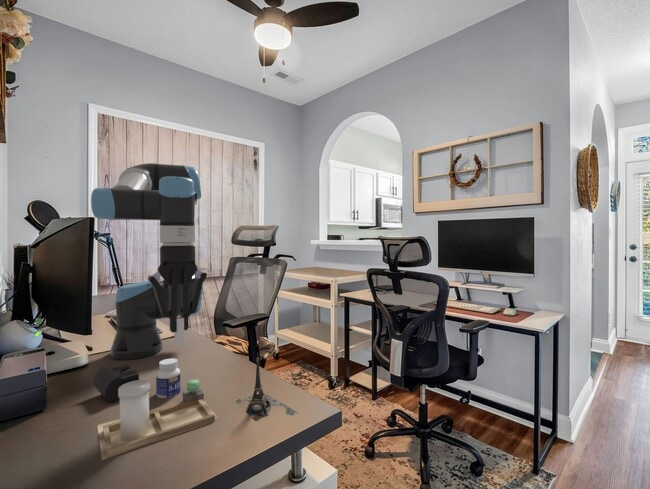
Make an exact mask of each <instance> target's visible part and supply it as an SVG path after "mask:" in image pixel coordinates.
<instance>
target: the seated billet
mask: <svg viewBox="0 0 650 489" xmlns="http://www.w3.org/2000/svg"><path fill="white" fill-rule="evenodd" d="M150 391H151V382H150V381H149V380H147V379H139V380H136V381H131V382H128V383H125V384H123V385H122V386H120V387H119V388H118V396H119V398H120V401H119V419H120V438H121V440H122V441H127V442H128V441H133V440H136V439H139V438H142V437H144V436H146V435H147V434H148V433H149V430H150V429H149V410H150Z"/></svg>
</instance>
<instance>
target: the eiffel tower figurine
mask: <svg viewBox="0 0 650 489" xmlns="http://www.w3.org/2000/svg"><path fill="white" fill-rule="evenodd" d="M255 362H256V368H255V369H256V371H255V383H254V388H253V389H254V390H253V393H252V395H251V396H248V397H247V398H245V399H244V400H242V399H240V398H238V399H236V400H234V402H236V404H240V403H242V402H245V401H247V402H248V404H247V407H246V410H245V411H244V412H245V413H246V414H247V415H248V416H250V417H267V416H268V417H269V415H270V411H271V409H272V407H275V406H276V407H283V408H284V409H285V415H288V416H295V415H296V414H298V413H299V412H298V411H297V410H295V409H292V408H291V407H289V406H287V405H285V404H284V403H283V402H280V401H279V400H277V399H275V398H273V397H272V396H270V395H268V394H266V393H264V390H263V387H262V383H261V373H260V358H259V353H258V352H257V357H256V360H255Z"/></svg>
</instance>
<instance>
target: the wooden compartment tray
mask: <svg viewBox="0 0 650 489" xmlns="http://www.w3.org/2000/svg"><path fill="white" fill-rule="evenodd" d="M204 393H205V392H204V391H202V390H201V388H200V387H199V389H198V390H195V393H194V394H191V391H188V390H183V391H182V400H180V401H177V402H173V403H169V404H165V405H163V406H159V407H155V408H153V409H152V408H151V409H149V429H150V430H149V433H148V434H147V435H146V436H144V437H142V438H139V439H136V440H133V441H128V442H127V441H122V440H121V438H120V418H117V419H114V420H110V421H107V422H103V423H100V424H99V423H98V424H97V425H96V426H97V434H98V442H99V448H100V449H99V450H100V457H101V458H100V459H101V460H102V461H104V460H106V459H109V458H112V457H114V456H118V455H120V454H121V455H122V454H124V453H126V452H129V451H133V450H135V449H138V448H141V447H144V446H148V445H149V444H150V445H151V444H153V443H155V442H158V441H161V440H165V439H167V438H168V439H169V438H171V437H173V436H175V435H179V434H182V433H185V432H188V431H191V430H194V429H196V428H197V429H198V428H200V427H203V426H206V425H209V424H211V423H214V422H217V421H219V420H220V419H219V418H218V416H217V415H216V414H215V412H214V411H213V410H212V409H211V408H210V406H209V405H208V403H206V401H205V400H204V399H205V398H204V397H205V394H204Z"/></svg>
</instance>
